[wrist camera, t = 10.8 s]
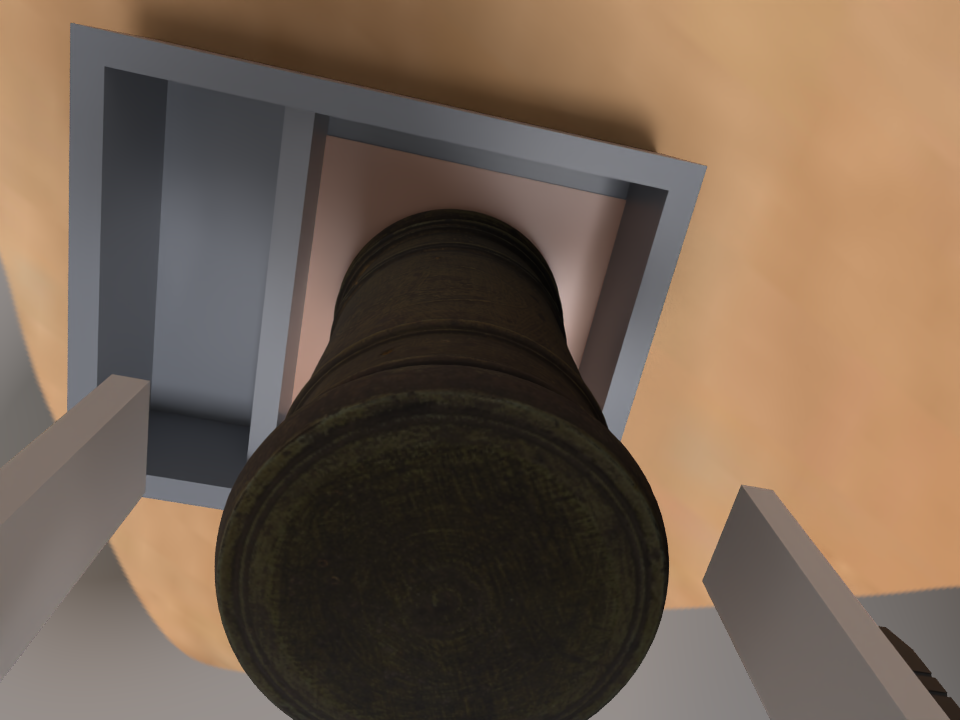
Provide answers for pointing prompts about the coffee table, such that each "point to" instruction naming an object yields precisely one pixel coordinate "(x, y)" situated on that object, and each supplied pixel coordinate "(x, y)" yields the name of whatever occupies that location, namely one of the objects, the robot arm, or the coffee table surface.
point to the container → (443, 503)
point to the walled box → (315, 234)
